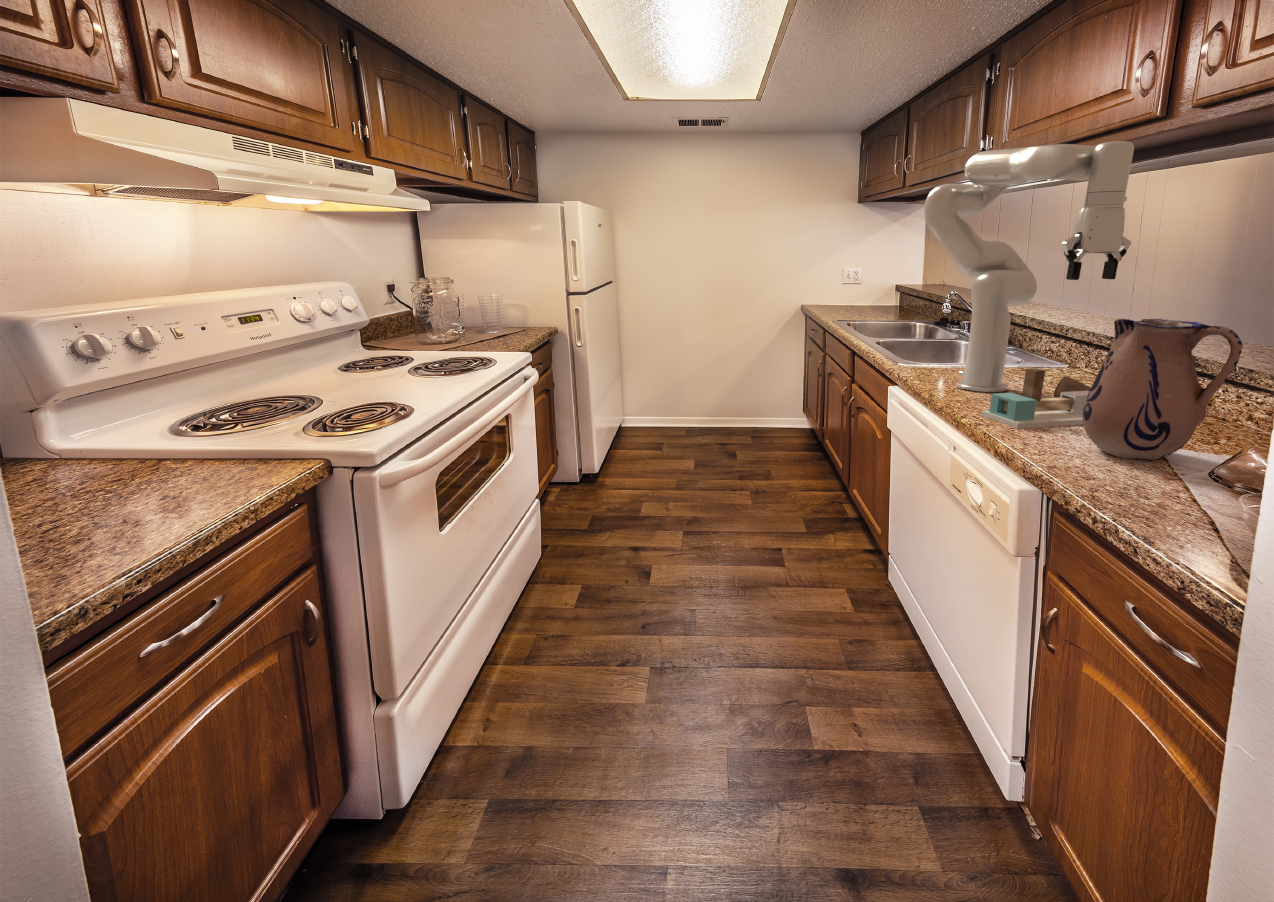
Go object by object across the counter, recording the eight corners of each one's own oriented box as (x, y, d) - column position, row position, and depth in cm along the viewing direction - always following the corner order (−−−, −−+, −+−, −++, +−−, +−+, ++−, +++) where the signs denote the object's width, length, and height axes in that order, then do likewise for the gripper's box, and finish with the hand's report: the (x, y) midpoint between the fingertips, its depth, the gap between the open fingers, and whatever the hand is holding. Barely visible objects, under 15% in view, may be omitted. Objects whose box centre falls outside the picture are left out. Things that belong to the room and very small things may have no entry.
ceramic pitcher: (1083, 436, 143) (1106, 314, 136) (1213, 454, 131) (1246, 321, 123) (1069, 455, 130) (1093, 322, 123) (1212, 478, 118) (1249, 330, 110)
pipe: (1140, 386, 170) (1109, 373, 178) (1080, 388, 167) (1051, 374, 176) (1131, 410, 172) (1101, 396, 181) (1072, 413, 170) (1044, 398, 179)
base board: (1077, 410, 166) (1078, 405, 165) (1119, 422, 154) (1120, 417, 154) (980, 415, 161) (981, 410, 161) (1017, 428, 150) (1018, 423, 149)
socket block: (1008, 411, 160) (1011, 392, 158) (1033, 419, 152) (1036, 400, 151) (989, 412, 159) (991, 393, 157) (1013, 420, 151) (1016, 401, 150)
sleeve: (1083, 409, 161) (1087, 390, 160) (1099, 413, 157) (1102, 394, 156) (1057, 410, 160) (1060, 392, 159) (1072, 415, 156) (1075, 396, 155)
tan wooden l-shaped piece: (1068, 406, 159) (1075, 366, 157) (1078, 409, 157) (1085, 368, 154) (1002, 410, 156) (1009, 369, 154) (1012, 413, 154) (1018, 371, 151)
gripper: (1122, 202, 161) (1108, 278, 166) (1058, 202, 158) (1045, 279, 163) (1151, 200, 154) (1136, 279, 159) (1084, 200, 151) (1070, 280, 156)
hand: (1090, 279), depth 161 cm, fingers open, 9 cm apart
